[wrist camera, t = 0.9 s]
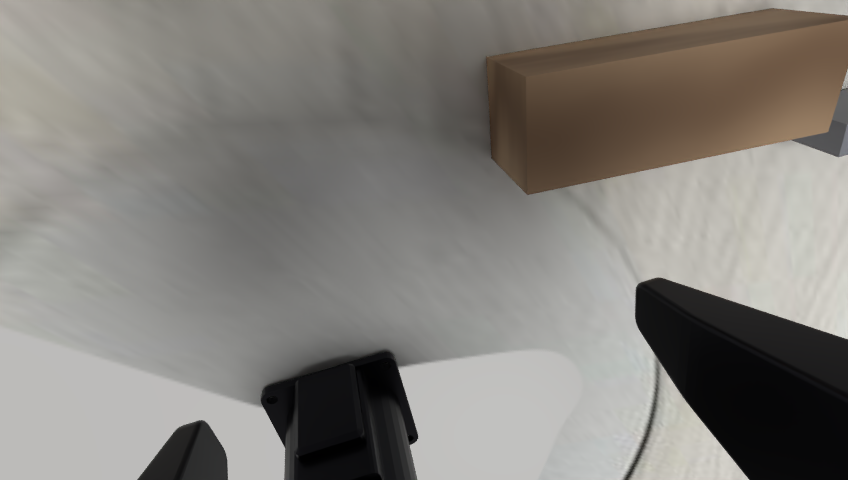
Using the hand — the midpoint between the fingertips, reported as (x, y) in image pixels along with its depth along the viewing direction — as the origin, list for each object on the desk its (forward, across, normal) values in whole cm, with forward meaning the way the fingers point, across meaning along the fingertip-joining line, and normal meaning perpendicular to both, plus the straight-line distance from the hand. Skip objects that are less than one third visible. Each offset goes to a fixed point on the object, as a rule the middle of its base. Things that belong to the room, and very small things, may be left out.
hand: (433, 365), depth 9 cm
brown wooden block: (+12, -11, 0) cm, 17 cm away
